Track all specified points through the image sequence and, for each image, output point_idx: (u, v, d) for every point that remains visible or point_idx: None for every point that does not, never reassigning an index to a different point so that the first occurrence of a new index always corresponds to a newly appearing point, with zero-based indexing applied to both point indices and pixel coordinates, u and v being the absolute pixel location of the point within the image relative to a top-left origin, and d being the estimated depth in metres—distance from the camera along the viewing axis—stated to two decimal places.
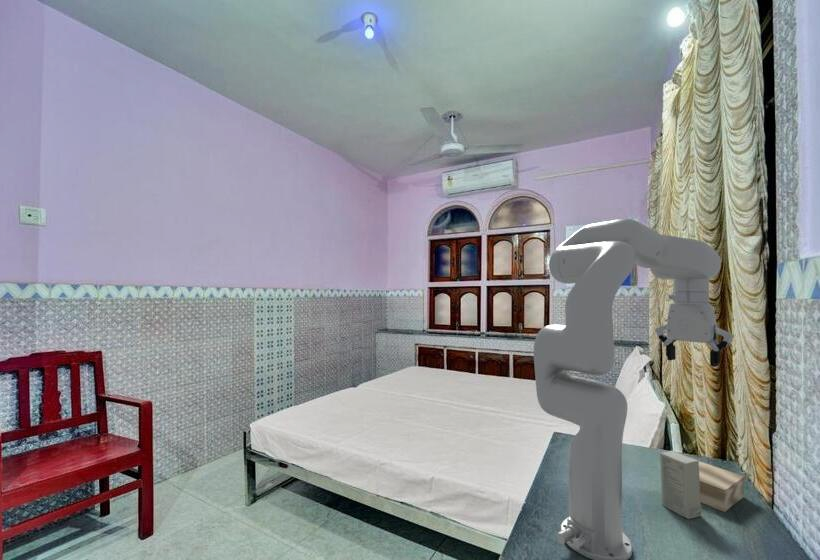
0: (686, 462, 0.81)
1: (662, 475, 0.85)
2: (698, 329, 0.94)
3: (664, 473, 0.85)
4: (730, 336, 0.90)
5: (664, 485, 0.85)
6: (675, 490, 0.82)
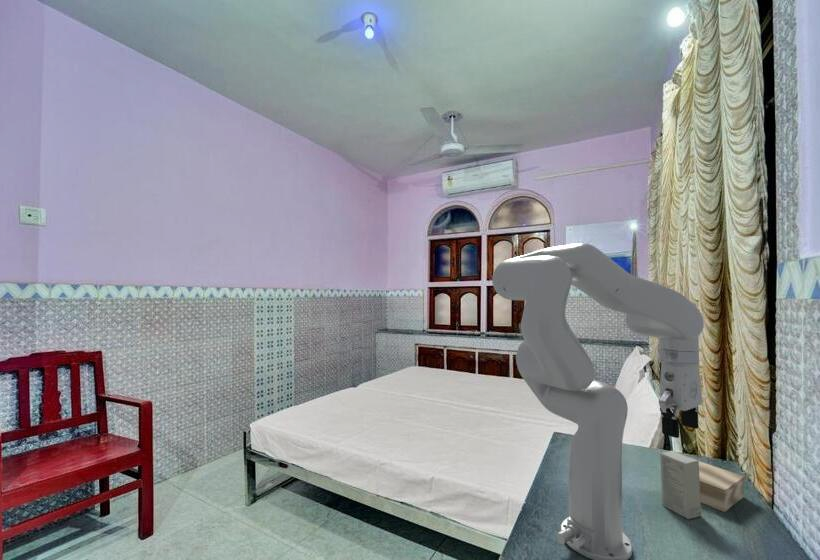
0: (686, 462, 0.81)
1: (662, 475, 0.85)
2: (698, 392, 0.83)
3: (664, 473, 0.85)
4: None
5: (664, 485, 0.85)
6: (675, 490, 0.82)
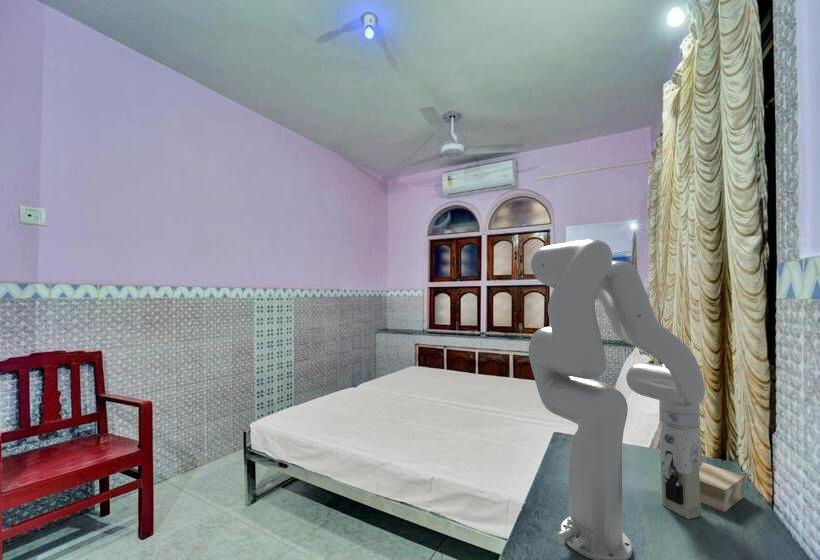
0: None
1: (662, 475, 0.85)
2: (698, 454, 0.82)
3: None
4: None
5: (664, 485, 0.85)
6: None
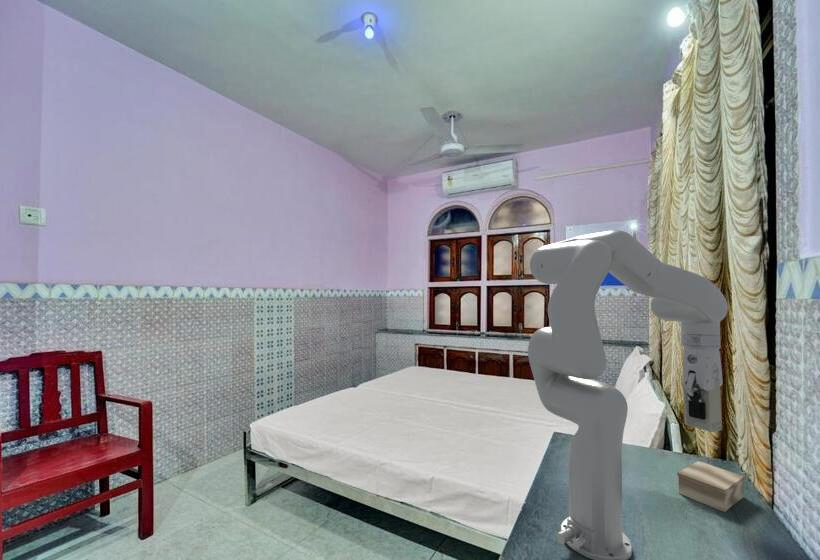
0: None
1: (684, 396, 0.90)
2: (719, 374, 0.88)
3: (686, 394, 0.90)
4: None
5: (686, 405, 0.90)
6: None
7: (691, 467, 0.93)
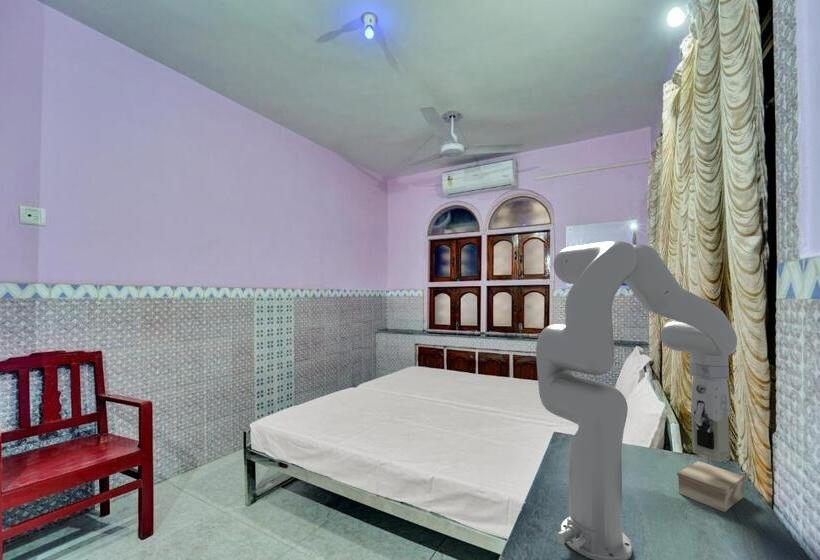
0: None
1: (693, 425, 0.92)
2: (727, 404, 0.89)
3: (695, 422, 0.91)
4: None
5: (695, 433, 0.91)
6: None
7: (691, 467, 0.93)
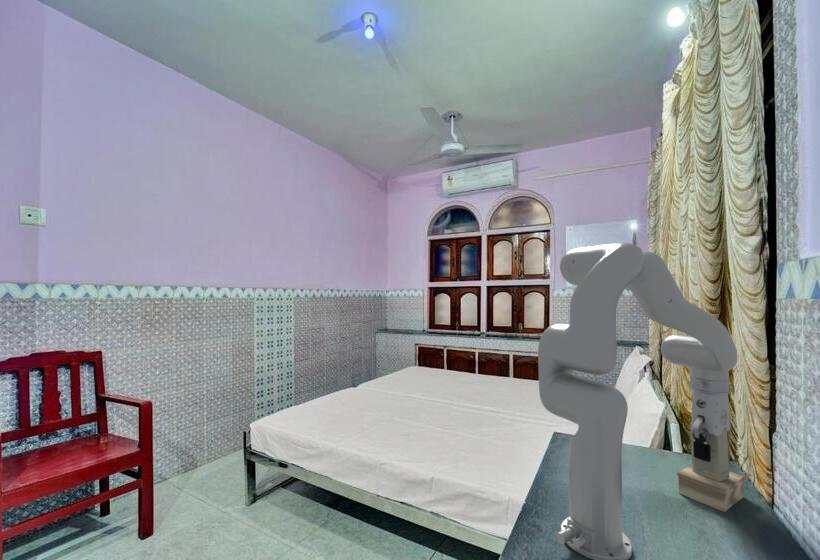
0: None
1: (692, 443, 0.91)
2: (727, 418, 0.89)
3: None
4: None
5: None
6: None
7: (691, 467, 0.93)
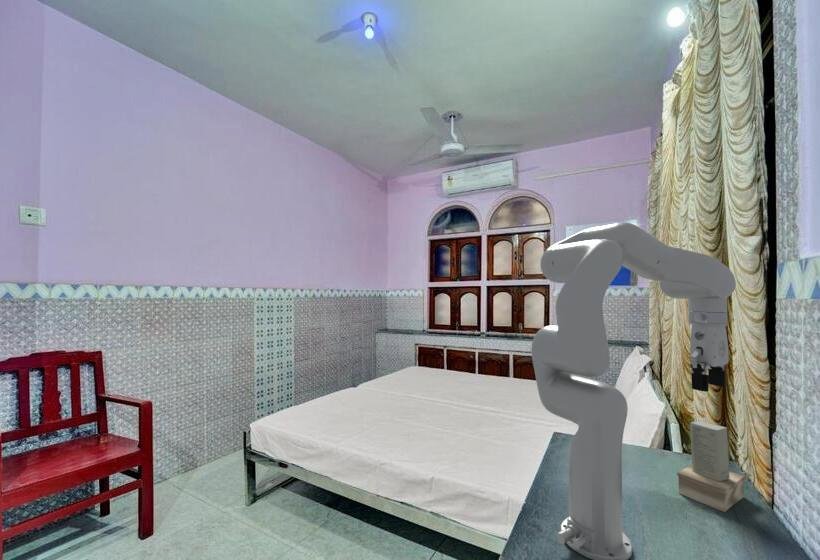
0: (716, 429, 0.87)
1: (692, 443, 0.91)
2: (726, 351, 0.90)
3: (694, 441, 0.91)
4: None
5: (694, 452, 0.91)
6: (706, 455, 0.88)
7: (691, 467, 0.93)
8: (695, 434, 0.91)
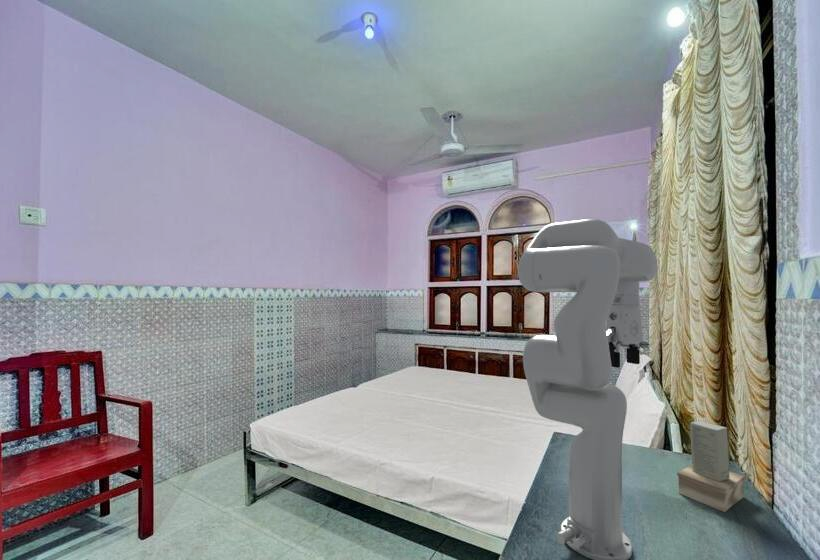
0: (716, 429, 0.87)
1: (692, 443, 0.91)
2: (639, 331, 0.97)
3: (694, 441, 0.91)
4: None
5: (694, 452, 0.91)
6: (706, 455, 0.88)
7: (691, 467, 0.93)
8: (695, 434, 0.91)
